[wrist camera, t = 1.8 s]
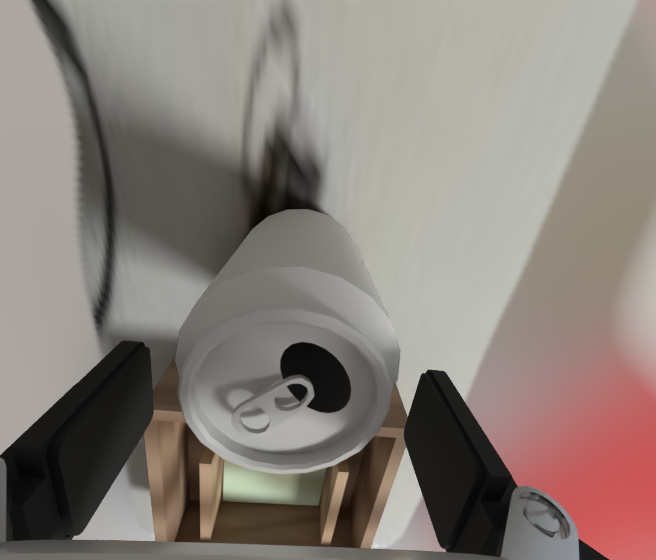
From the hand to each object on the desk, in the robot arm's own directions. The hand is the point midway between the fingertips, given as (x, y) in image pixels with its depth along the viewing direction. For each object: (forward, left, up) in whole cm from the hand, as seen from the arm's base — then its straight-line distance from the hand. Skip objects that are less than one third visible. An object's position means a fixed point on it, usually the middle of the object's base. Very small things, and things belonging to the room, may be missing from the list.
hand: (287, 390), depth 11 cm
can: (-1, 0, -11) cm, 11 cm away
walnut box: (+15, 0, -10) cm, 18 cm away
